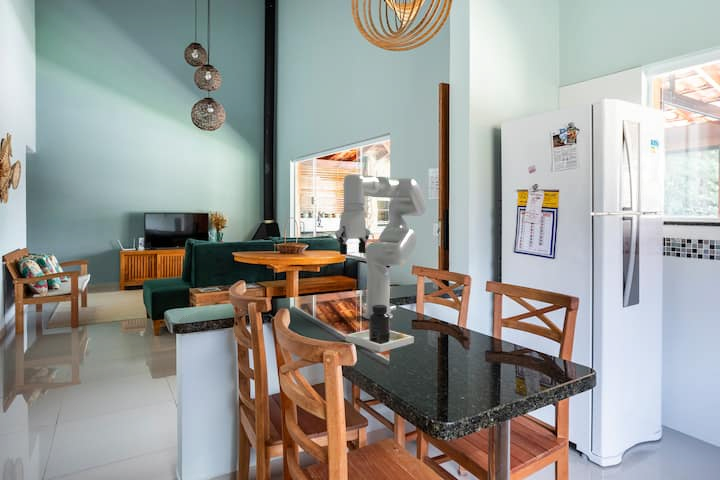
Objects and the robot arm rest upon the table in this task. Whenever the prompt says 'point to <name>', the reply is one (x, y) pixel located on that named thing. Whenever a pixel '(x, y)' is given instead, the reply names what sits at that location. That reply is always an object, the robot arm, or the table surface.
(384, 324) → the supplement bottle
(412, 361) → the table surface
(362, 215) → the robot arm
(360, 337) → the tray
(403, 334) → the ball
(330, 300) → the table surface
